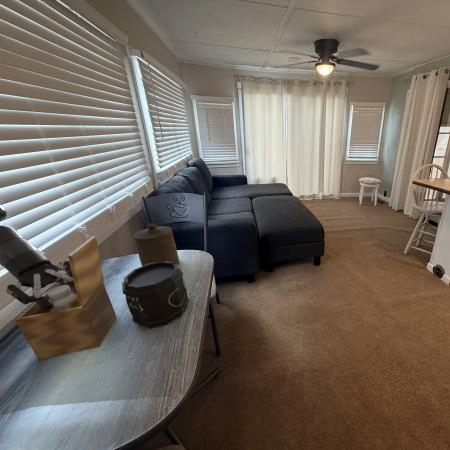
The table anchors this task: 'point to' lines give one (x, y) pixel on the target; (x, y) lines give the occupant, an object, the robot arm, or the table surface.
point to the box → (67, 326)
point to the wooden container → (156, 245)
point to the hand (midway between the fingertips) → (66, 299)
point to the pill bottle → (62, 298)
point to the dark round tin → (155, 294)
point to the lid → (86, 270)
